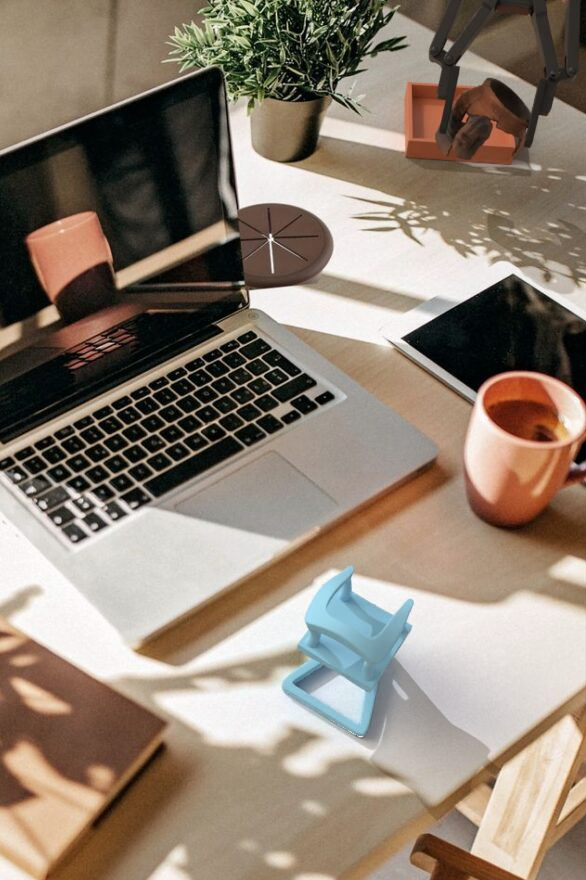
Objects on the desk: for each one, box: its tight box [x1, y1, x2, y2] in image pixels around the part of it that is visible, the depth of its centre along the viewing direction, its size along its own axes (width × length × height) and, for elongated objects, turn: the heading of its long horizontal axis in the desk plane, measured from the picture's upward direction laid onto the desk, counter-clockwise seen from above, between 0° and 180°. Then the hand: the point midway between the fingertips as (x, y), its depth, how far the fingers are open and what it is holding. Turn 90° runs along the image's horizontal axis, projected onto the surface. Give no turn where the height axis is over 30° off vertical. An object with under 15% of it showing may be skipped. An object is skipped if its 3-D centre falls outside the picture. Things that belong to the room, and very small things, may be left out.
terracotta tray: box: [404, 81, 516, 165], centre depth 125 cm, size 13×13×2 cm
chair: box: [281, 565, 415, 737], centre depth 75 cm, size 8×8×12 cm
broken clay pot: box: [435, 77, 531, 160], centre depth 110 cm, size 12×10×8 cm
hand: (485, 137), depth 107 cm, fingers closed on broken clay pot, 9 cm apart
